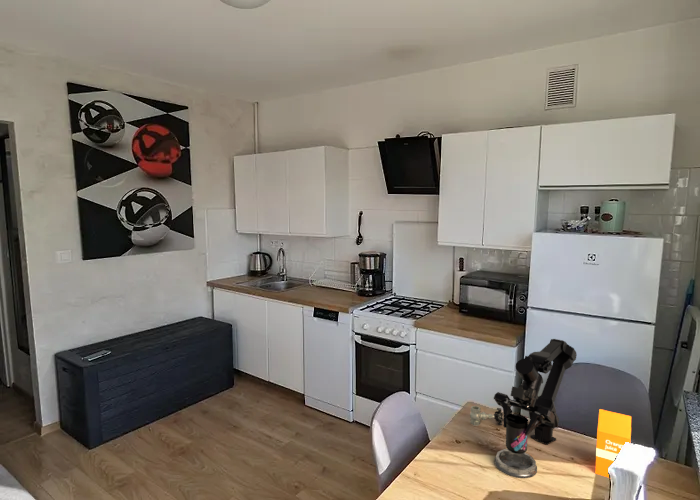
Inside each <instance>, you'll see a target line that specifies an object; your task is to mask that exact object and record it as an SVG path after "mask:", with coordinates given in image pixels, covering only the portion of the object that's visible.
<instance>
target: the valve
mask: <svg viewBox="0 0 700 500" xmlns="http://www.w3.org/2000/svg"><path fill="white" fill-rule="evenodd" d="M502 411H503V409H502V407H501V408H500V407H497V408H496V410H495V411H494V413H493V414H492V413H488V414H487V413H486V412H485V411H482V412H481V407H480V406H478V405H472V406H470V413H469V418H470V425H472V426H474V427H475V426H476V427H479V426H480V424H481V420H482V421H486V420H487V419H494V420H495V422H497V425H498V426H504V413H503V412H502Z"/></svg>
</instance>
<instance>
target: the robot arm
mask: <svg viewBox="0 0 700 500" xmlns="http://www.w3.org/2000/svg"><path fill="white" fill-rule="evenodd" d="M576 360H577V351H576V350H575V348H574V347H572V345H570V344H568V343H567V342H566V341H564V340H561V339H556V338H550V341H549V343H547V345H545V346H544V347H543V348H542V349H541V350H539V351H533V352H531V353H529V354H528V355H525V356H524V358H521V359H519V360H518V361H517V362H516V363H515V369H516V371H517V373H518V375H519V376H520V379H522V381H521V384H519V385H518V387H516V386H514V385H513V386H512V387H511V391H510V396H509V395H508V394H505V393H504V392H503V393H502V392H500V391H497V392H496V393H495V394H494V396H493V400H494V401H495V402H496V404H497V405H498V406H499V407H501V409H502V411H503V412H502V413H503V428H505V429H506V416H507V415H508V414H513V409H512V407H514V408H517V409H520V410H523V411H526V412H528V415H529V420H528V426H527V429H526V432H525V435H526V436H527V435H528V436H529V435H530V434H531V433H532V431H534V434H532V435H530V438H531V439H533V440H536V442H537V441H538V442H539V443H541V444H543V445H546V446H547V445H549V444H552V443H553V442H556V441H557V438H556V437H554V436H553V432H554V430H555V429H556V428H557V429H558V428H559V422H560V418H559V416H558V414H557V408H556V405H555V400H556V399H557V395H558V392H559V389H560V386H561V384H562V380H563V378H564V375H565V372H566V371H567V370H568V369H570V368H571V367H572V366H573V364H574V361H576ZM540 373H541V374H540ZM542 374H545V375H546V374H547V375H548V376H547V378H546V380H545V384H544V387H543V389H542V392H541V395H539V392H540V390H541V386H542V384H543V383H544V378H543V375H542ZM510 397H513V399H511V398H510Z"/></svg>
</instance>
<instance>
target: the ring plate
mask: <svg viewBox="0 0 700 500" xmlns="http://www.w3.org/2000/svg"><path fill="white" fill-rule="evenodd" d="M536 463H537V461H536V460H535V459H534V457H533V456H532V455H530V454H528V452H527V453H526V452H525V453H522V454H517V453H513V452H511V451H509V450H508V449H507V448H504V449H501V450H499V451H497V453H496V456H495V458H494V465H495V467H496V468H497V469H498V470H499V471H500V472H501V473H503V474H505V475H507V476H508V477H509V476H510V477H512V478H516V479H529V478H532V477H534V476H536V474H537V473H538V466H537V464H536Z"/></svg>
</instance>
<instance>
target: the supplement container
mask: <svg viewBox="0 0 700 500" xmlns="http://www.w3.org/2000/svg"><path fill="white" fill-rule="evenodd" d="M528 424H529V419H528V418H527V417H526V416H525V415H522V414H519V413H512V414H508V415H507V416H506V428H505V447H506V448H505V449H508V450H509V451H511V452H513V453H517V454H522V453H526V452H527V451H528V441H529V440H528V438H529V437H528V436H529V434H528V435H527V436H526V435H525V432H526V429H527V426H528Z"/></svg>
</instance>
